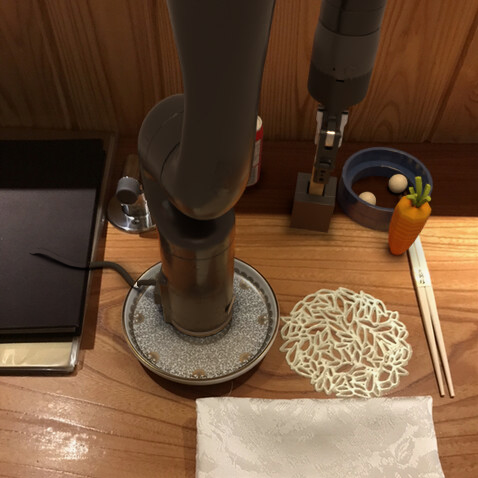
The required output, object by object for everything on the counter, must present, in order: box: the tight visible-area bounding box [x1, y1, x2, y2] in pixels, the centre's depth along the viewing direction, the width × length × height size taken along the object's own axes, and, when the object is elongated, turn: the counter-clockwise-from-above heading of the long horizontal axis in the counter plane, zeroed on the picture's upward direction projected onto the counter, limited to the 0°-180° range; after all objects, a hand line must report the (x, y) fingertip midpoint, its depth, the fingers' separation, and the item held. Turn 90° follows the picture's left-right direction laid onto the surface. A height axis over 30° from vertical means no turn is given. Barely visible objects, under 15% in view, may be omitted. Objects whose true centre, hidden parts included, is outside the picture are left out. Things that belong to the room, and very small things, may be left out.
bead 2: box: [388, 174, 407, 194], centre depth 92 cm, size 3×3×3 cm
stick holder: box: [289, 171, 338, 234], centre depth 88 cm, size 6×6×7 cm
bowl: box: [336, 146, 434, 233], centre depth 91 cm, size 14×14×6 cm
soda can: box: [246, 115, 264, 188], centre depth 90 cm, size 6×6×12 cm
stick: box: [308, 145, 324, 196], centre depth 84 cm, size 2×2×14 cm
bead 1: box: [358, 191, 377, 206], centre depth 90 cm, size 3×3×3 cm
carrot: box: [387, 177, 432, 256], centre depth 81 cm, size 5×5×15 cm
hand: (322, 160), depth 80 cm, fingers open, 8 cm apart
